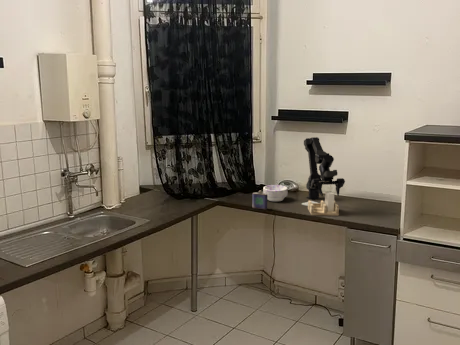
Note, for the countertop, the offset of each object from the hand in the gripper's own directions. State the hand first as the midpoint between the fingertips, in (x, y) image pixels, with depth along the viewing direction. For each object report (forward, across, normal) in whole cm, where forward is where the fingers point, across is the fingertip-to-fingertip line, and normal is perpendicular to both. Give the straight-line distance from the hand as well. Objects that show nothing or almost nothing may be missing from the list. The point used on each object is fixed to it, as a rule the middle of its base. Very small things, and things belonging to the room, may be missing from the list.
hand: (330, 195), depth 266 cm
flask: (-2, -38, +16) cm, 41 cm away
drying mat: (-5, -4, +18) cm, 20 cm away
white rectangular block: (+5, 0, +7) cm, 9 cm away
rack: (+6, -4, +8) cm, 10 cm away
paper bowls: (-15, -25, +29) cm, 41 cm away
